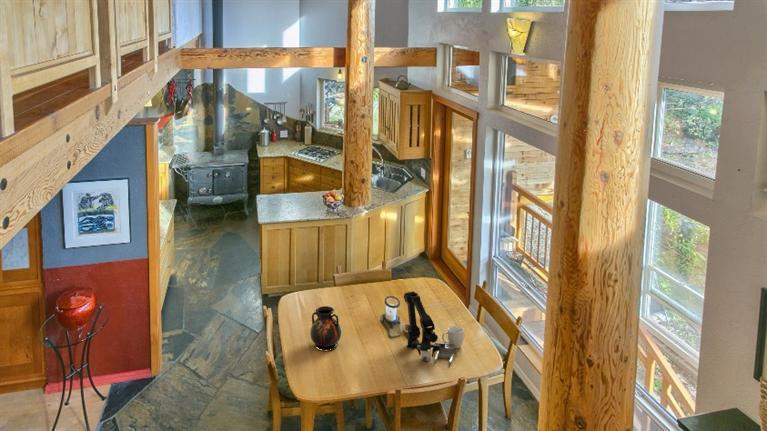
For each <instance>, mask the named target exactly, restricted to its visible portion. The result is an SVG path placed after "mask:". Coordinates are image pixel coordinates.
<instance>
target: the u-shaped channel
mask: <svg viewBox="0 0 767 431" xmlns="http://www.w3.org/2000/svg"><path fill="white" fill-rule="evenodd" d="M439 343H440V344H441V348H440V350H439V351H436V354H435V357H434V364H437V362H438V359H439V358H440V359H447V360H448V359H449V366H452V363H453V360H454V358H455V353H456V350H455V349H456V348H455V345H453V344H449V343H446V342H444V341H441V342H439Z"/></svg>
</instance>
